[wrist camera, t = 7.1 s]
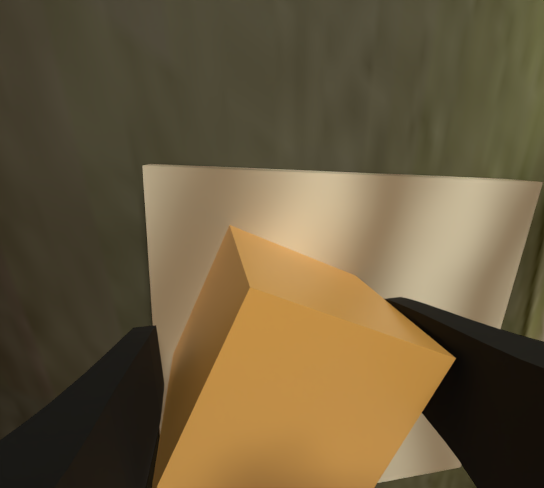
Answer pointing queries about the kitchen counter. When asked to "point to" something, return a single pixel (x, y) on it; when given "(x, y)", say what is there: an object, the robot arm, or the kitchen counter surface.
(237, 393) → the tilted amber cube
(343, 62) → the kitchen counter surface
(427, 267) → the board
